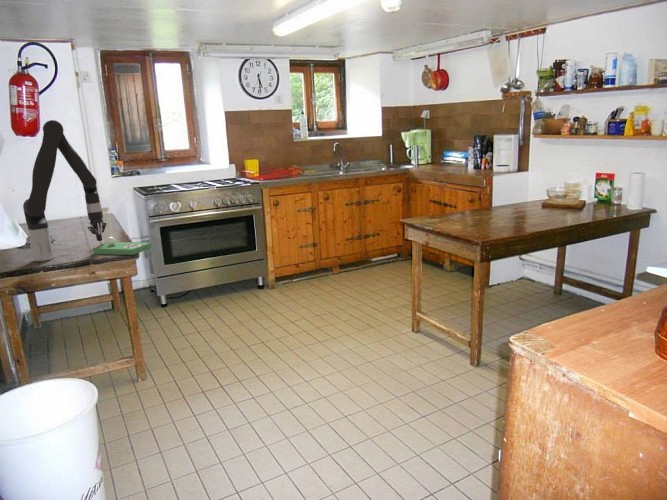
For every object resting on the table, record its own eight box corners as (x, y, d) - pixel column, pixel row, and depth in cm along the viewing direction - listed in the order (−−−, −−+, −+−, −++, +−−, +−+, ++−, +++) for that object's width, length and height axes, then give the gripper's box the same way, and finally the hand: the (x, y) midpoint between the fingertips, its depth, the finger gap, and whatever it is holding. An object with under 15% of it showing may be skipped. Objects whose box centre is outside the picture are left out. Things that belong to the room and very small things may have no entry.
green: (133, 254, 267) (132, 249, 267) (93, 253, 275) (92, 248, 274) (151, 247, 282) (150, 242, 282) (113, 247, 289) (112, 242, 289)
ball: (112, 246, 277) (111, 237, 275) (105, 246, 278) (103, 237, 277) (118, 244, 281) (117, 235, 280) (111, 244, 283) (109, 235, 281)
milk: (102, 243, 300) (96, 208, 295) (113, 242, 304) (107, 206, 299) (104, 245, 296) (98, 209, 290) (115, 243, 299) (109, 207, 294)
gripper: (91, 212, 270) (97, 243, 274) (108, 208, 282) (113, 238, 287) (80, 213, 272) (86, 243, 276) (97, 208, 284) (102, 238, 289)
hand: (99, 240), depth 282 cm, fingers closed
